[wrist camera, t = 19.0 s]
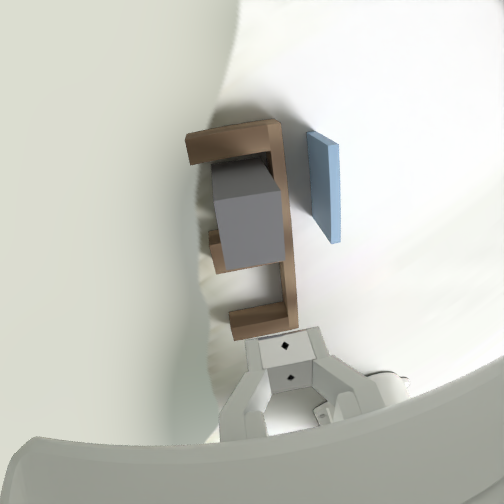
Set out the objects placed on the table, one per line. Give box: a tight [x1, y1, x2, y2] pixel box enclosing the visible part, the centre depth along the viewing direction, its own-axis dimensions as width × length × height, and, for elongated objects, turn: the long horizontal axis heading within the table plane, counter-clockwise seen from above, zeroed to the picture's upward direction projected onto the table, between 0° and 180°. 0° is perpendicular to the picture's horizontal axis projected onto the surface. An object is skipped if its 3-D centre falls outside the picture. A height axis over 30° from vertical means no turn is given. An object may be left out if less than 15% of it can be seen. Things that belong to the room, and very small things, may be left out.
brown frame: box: [185, 119, 341, 341], centre depth 27 cm, size 21×10×5 cm, turn 8°
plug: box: [211, 157, 285, 270], centre depth 23 cm, size 5×4×8 cm
